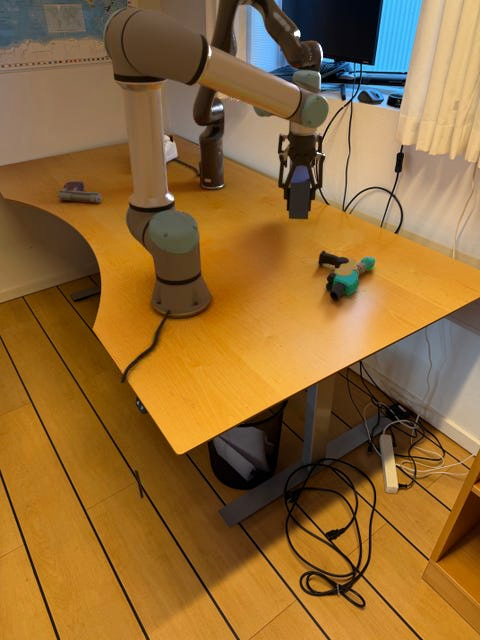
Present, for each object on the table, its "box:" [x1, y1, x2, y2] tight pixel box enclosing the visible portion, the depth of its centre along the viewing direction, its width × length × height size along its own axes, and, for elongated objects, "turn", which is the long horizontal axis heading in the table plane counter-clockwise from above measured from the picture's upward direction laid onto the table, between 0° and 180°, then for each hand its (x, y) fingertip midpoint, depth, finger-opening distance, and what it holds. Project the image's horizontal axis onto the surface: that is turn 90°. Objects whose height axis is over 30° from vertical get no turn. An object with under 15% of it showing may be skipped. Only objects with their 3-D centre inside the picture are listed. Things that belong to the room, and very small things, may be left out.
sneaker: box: [164, 134, 179, 163], centre depth 214 cm, size 10×29×12 cm, turn 163°
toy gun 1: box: [56, 180, 103, 204], centre depth 185 cm, size 4×19×15 cm
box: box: [288, 158, 312, 220], centre depth 153 cm, size 24×6×12 cm, turn 176°
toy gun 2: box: [318, 250, 376, 303], centre depth 132 cm, size 4×26×15 cm
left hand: (298, 209), depth 148 cm, fingers closed on box, 6 cm apart
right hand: (298, 167), depth 158 cm, fingers open, 8 cm apart
